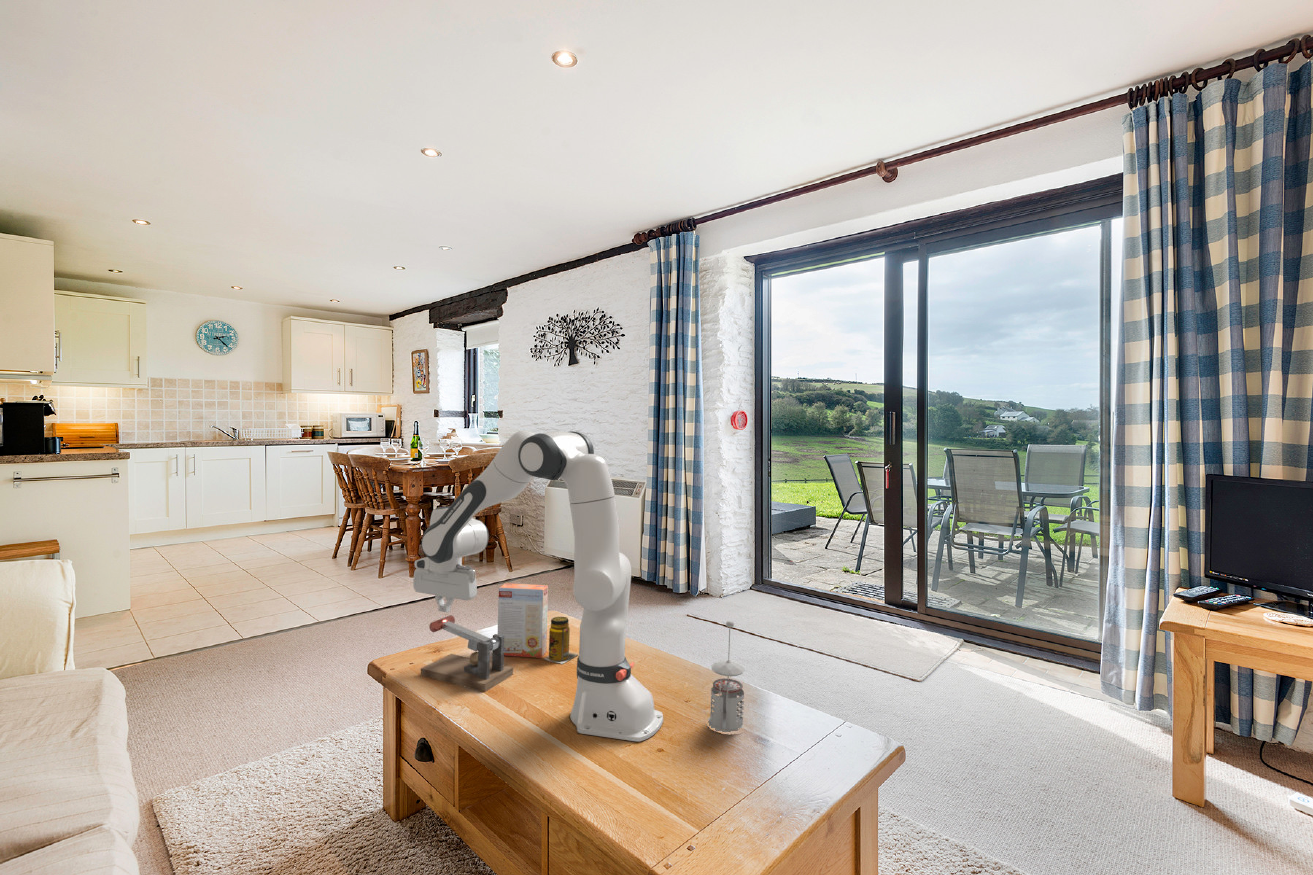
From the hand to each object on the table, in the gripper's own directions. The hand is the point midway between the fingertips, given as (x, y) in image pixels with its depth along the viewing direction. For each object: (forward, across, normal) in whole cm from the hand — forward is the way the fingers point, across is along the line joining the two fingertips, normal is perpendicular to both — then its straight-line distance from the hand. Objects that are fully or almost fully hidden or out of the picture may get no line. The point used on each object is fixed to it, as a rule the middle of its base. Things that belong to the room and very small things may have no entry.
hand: (444, 611), depth 168 cm
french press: (+18, -81, -5) cm, 83 cm away
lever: (+8, -8, 0) cm, 11 cm away
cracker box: (+17, -12, -20) cm, 29 cm away
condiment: (+17, -24, -23) cm, 38 cm away
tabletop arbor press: (+17, -8, 0) cm, 19 cm away
